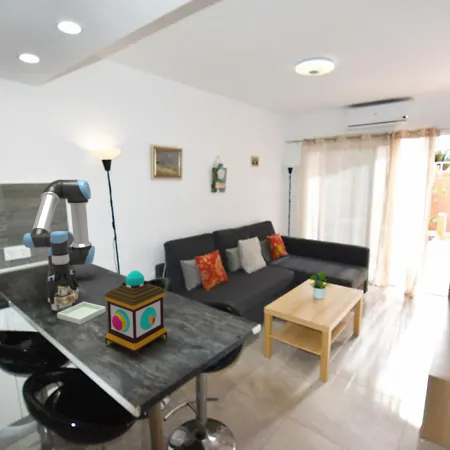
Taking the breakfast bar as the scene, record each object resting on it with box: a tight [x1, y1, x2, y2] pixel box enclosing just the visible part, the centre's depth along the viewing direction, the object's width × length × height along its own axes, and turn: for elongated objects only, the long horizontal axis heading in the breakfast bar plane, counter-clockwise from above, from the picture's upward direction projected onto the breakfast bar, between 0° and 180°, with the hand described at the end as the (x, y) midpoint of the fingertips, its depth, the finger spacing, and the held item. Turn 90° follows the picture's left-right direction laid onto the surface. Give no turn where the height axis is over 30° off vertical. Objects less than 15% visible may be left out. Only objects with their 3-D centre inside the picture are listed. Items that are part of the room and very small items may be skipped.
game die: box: [65, 284, 82, 294], centre depth 163 cm, size 9×8×10 cm
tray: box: [56, 301, 107, 325], centre depth 143 cm, size 15×15×2 cm
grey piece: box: [54, 285, 73, 313], centre depth 148 cm, size 8×8×12 cm
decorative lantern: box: [103, 269, 168, 359], centre depth 117 cm, size 20×20×30 cm
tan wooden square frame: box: [47, 291, 79, 305], centre depth 148 cm, size 10×12×3 cm
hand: (63, 305), depth 149 cm, fingers closed on tan wooden square frame, 9 cm apart
